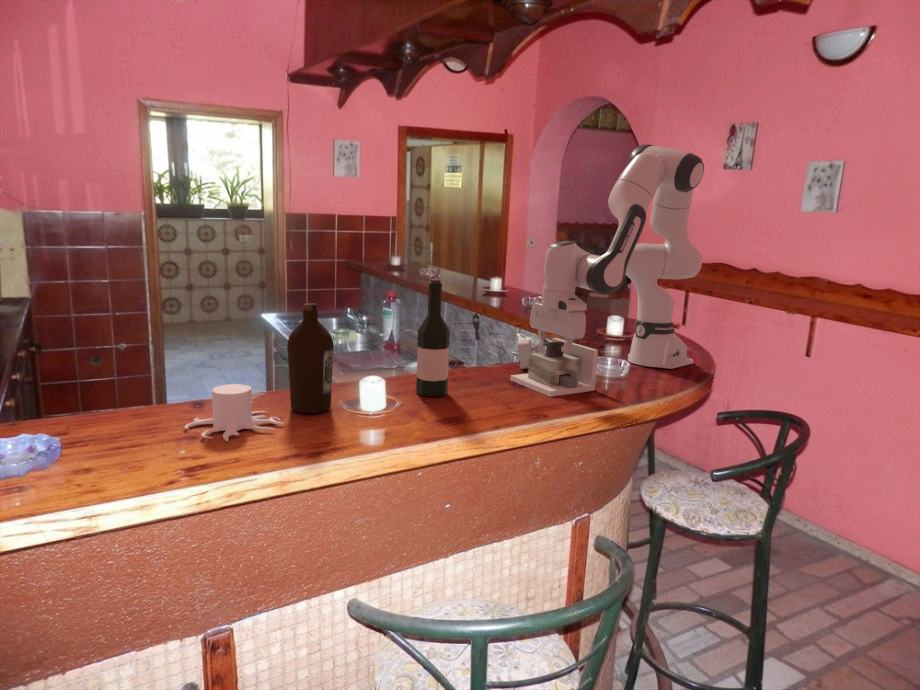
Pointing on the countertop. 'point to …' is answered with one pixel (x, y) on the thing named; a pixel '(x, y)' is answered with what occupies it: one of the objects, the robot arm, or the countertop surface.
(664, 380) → the countertop surface
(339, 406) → the countertop surface
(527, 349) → the white block with rod
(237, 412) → the tree stump
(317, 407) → the olive oil
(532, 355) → the cabinet block
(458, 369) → the countertop surface
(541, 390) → the board
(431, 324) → the wine bottle
